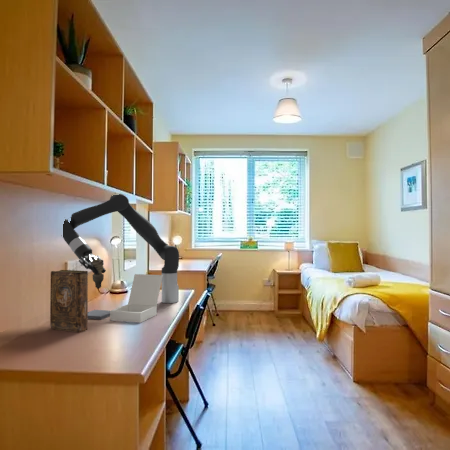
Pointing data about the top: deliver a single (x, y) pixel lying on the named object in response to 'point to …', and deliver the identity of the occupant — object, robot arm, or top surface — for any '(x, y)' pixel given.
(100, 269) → the twisted stone column
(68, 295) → the book
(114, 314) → the box
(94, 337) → the top surface
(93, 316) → the mat
